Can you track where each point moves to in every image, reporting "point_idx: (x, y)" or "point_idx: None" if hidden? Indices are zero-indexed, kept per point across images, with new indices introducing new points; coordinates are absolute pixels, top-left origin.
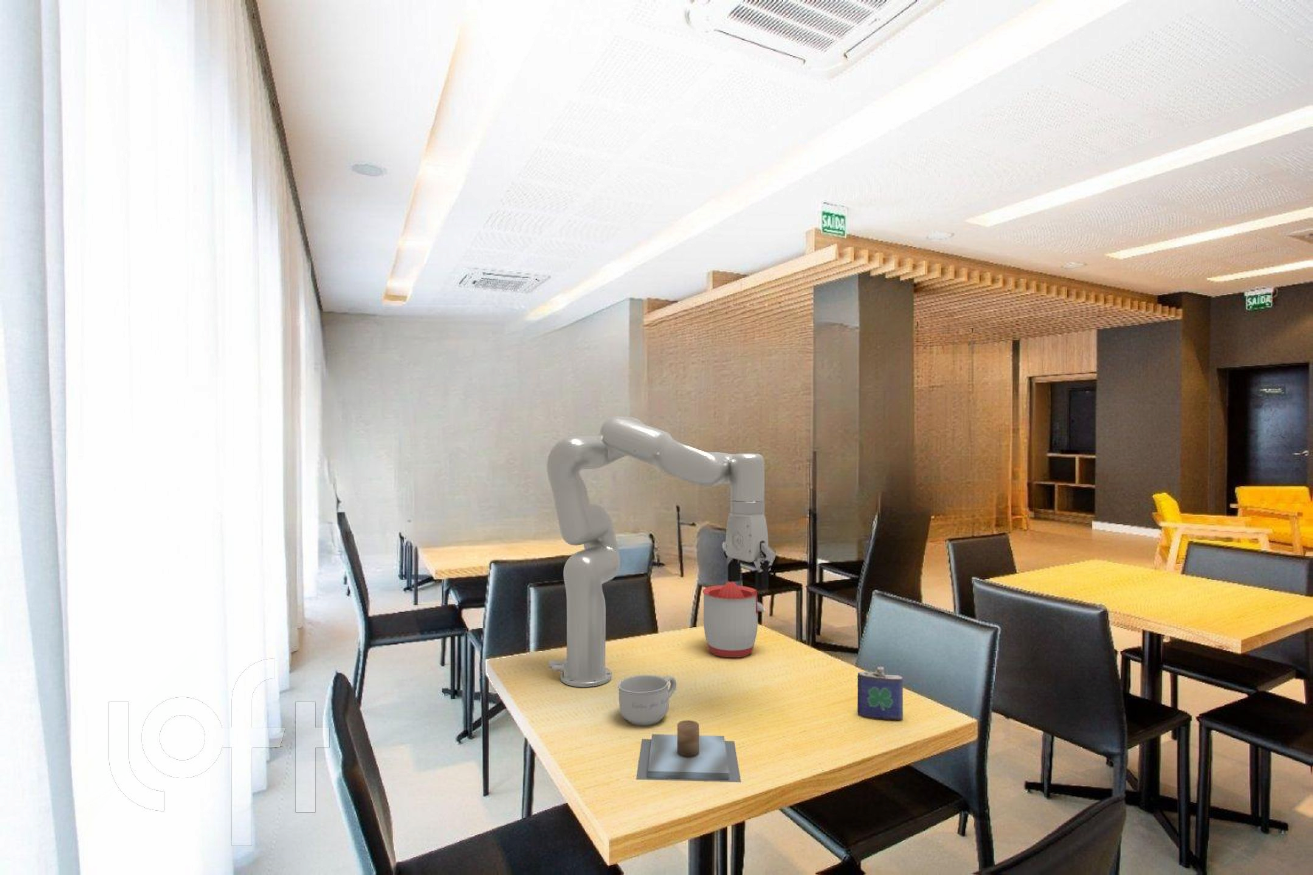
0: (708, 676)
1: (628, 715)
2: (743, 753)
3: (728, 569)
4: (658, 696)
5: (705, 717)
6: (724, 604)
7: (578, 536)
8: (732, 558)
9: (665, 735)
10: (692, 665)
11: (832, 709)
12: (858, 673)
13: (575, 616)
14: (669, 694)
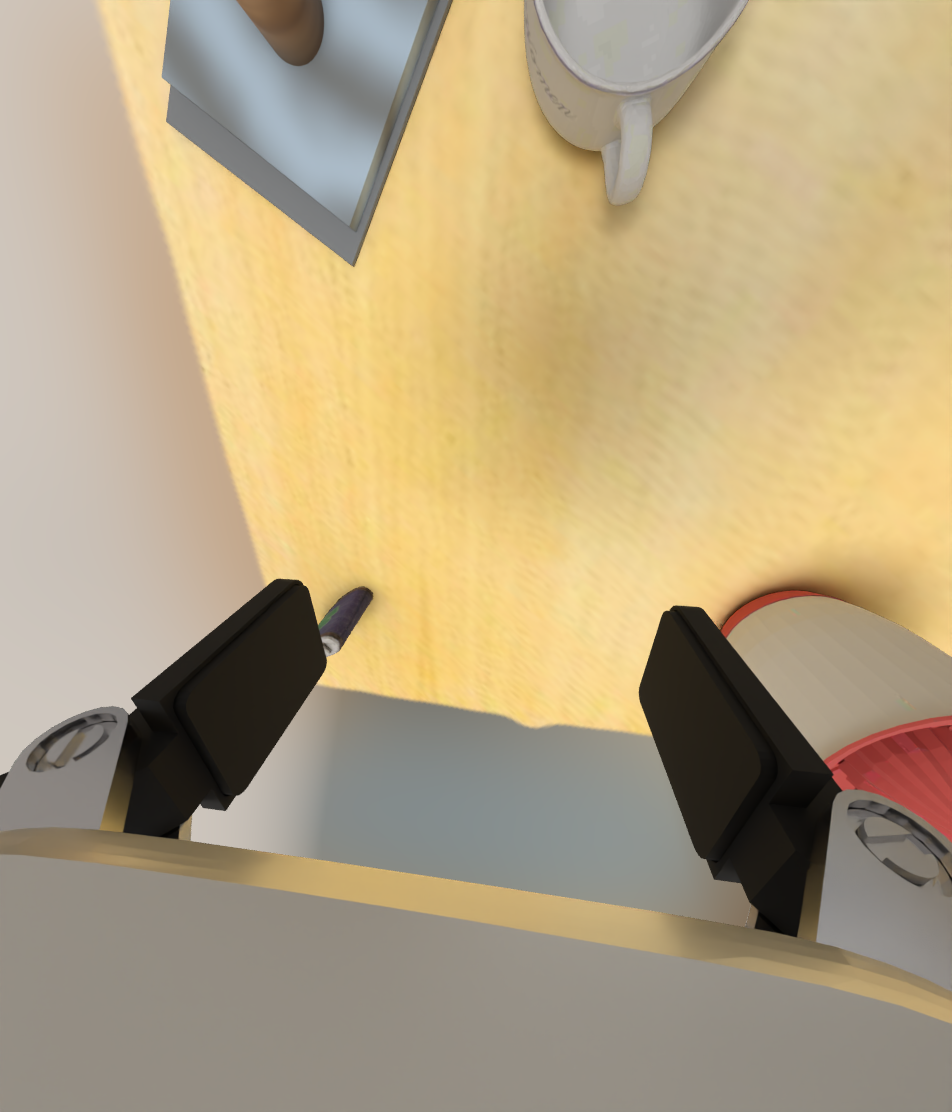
0: (704, 484)
1: None
2: (302, 251)
3: (758, 699)
4: None
5: (507, 295)
6: (877, 704)
7: None
8: (807, 932)
9: (418, 1)
10: (799, 498)
11: (404, 572)
12: (338, 639)
13: None
14: (609, 172)
